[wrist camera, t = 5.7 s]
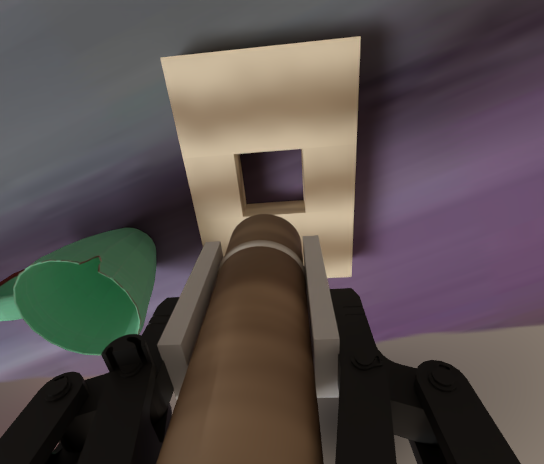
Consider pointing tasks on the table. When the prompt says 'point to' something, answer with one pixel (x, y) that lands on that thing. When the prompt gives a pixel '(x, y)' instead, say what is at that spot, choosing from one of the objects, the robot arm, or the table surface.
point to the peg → (251, 360)
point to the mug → (85, 291)
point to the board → (271, 135)
